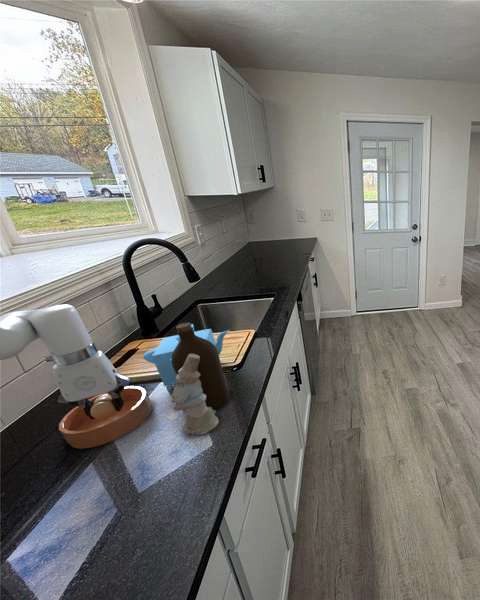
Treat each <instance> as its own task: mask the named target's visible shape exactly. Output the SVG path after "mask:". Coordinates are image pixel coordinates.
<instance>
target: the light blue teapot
mask: <svg viewBox="0 0 480 600" xmlns="http://www.w3.org/2000/svg"><path fill="white" fill-rule="evenodd" d="M191 327H192V328H193V330H194V334H195V335H196V336H198V337H201V338H204V339H206V340H209V341H210V342H212V343H213V344H214V346H215V347H216V349H217V351H218V355H219V358H220V357H221V352H222V350H223V347H224V346H223V345H224V344H223V343H224V342H223V341H224V337H225V336H226V335H227V334H228V333H230V332H231V329H228V330H224V331H221V332H219V333H218V334H217V338H216V339H215V336H214V334H213V330H212V328H207V329H200V330H196V331H195V328H194V327H195V326H194V324H193V323H191ZM179 342H180V337H179V335H178V334H175V335H171V336H165V337H162V340H161V341H160V342H159V344H158V346H157V347H156V348H153V349H151V350H150V349H149V350H148V351H146V352H145V353H143V355H142V357H143V360H145V361H146V362H148V363H150V364H154V366H155V368H156V370H157V372H158V374H159V377H160V379H161V381H162V383H163V385H164V386H168V385H173V384H174V385H175V387H176V386H177V385H179V384H181V383H178V382H177V381H176V377H177V374H176V372H175V370H174V368H173V366H172V363H171V357H172V353H173V351H174V349H175V348H176V346H177V345H178V343H179Z"/></svg>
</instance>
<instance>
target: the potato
mask: <svg viewBox="0 0 480 600" xmlns="http://www.w3.org/2000/svg"><path fill="white" fill-rule="evenodd" d="M111 399H112V397H111V396H110V395H109V394H103V395H101V396H99V397H98V398H97V399H96V400H95V402H94V404H93V406H92V407H91V410H90V413H91V415H92V417H94V418H96V419H103V418H106V417H108V416H110V415H111V414H112V413H113V411H114V409H115V407H114V405H113V404H112V402H111Z"/></svg>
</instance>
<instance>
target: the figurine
mask: <svg viewBox="0 0 480 600" xmlns="http://www.w3.org/2000/svg"><path fill="white" fill-rule="evenodd" d="M199 360H200V356H198V355H196V354H189V355H188V356H187V359H186V361H185V363H184V365H183V367H182V368H181V369H180V370H179V371H178V373H179V374H177V377H176V381H177V382H178V383H183V384H179V385H177V386H176V385H175V388H174V389H173V391H172V393H171V399H170V402H171V403H172V404H173V407H172V409H173V410H174V411H176V412H179V411H181V412H182V415H183V416H185V423H184V426H183V430H182V432H184V433H185V434H186V435H198V436H199V435H203V434H206V433H208V432H211V431H212V430H214V429H215V428H216V427H217V426H218V424H219V421H220V420H219V418H218V417H217V416H216V415H215V414H216V413H217V411H216V410H212V408H211V407H207V406H206V403H205V401H206V395H205V394H204V393H202V392H203V389H202V388H201V381H200V380H199V379H198V378H199V377H200V373H199V372H198V371H197V368H198V364H199Z"/></svg>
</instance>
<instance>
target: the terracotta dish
mask: <svg viewBox="0 0 480 600" xmlns="http://www.w3.org/2000/svg"><path fill="white" fill-rule="evenodd" d="M103 394H108V393H107V392H106V393H103ZM103 394H100V395H97V396H95V397H93V398H91V399H89V401H90V400H91V401H93V403H94V402H95V400H96V399H97V398H98V397H99V396H101V395H103ZM120 395H121V397H122V399H123V401H124V405H123V406H122V408H121V411H116V409H114V411H113V413H112V414H111V415H110V416H108V417H106V418H103V419H96V418H95V419H92V420H91V418H90V417H89V416H87V415H86V413H85V411H84V410H83V408H79V406H75V407H74V408H72V409H71V410H69V412H67V413H66V414H65V415H64V416H63V417H62V419H61V420H60V422H59V424H58V430H59V432H60V434H61V435H62V437H63V438H64V440H65V441H66V443H67V444H68V445H69V446H70V447H72V448H73V449H79V450H80V449H90V448H95V447H99V446H102V445H105V444H107V443H111V442H112V441H113V442H114V441H115V440H117V439H119V438H122V437H123V436H126V434H128V433H131V432H132V431H133V430H135V429H136V428H138V426H140V425H141V424H143V423H144V421H145V420H146V419H148V417H149V416H150V415H151V413H152V411H153V403H152V402H151V400H150V397H149V395H148V393H147V390H146V389H145V388H143V387H141V386H138V385H137V386H136V385H135V386H134V385H130V386H129V385H128V386H126V387H125V388H124V389H123V390H122V392H121V393H120Z"/></svg>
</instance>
